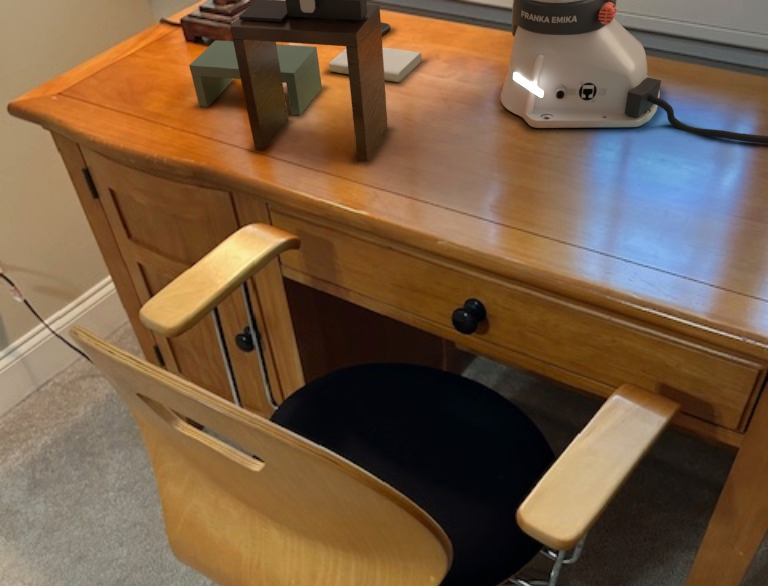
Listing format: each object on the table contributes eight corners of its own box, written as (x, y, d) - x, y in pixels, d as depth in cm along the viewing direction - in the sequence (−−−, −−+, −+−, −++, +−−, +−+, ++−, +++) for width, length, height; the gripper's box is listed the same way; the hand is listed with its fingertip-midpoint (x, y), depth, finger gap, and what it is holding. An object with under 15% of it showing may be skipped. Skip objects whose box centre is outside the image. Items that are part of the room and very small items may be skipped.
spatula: (372, 8, 99) (370, -12, 98) (357, 26, 96) (355, 6, 95) (257, 2, 103) (253, -17, 102) (239, 19, 100) (235, 0, 99)
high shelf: (388, 130, 113) (379, 4, 100) (367, 161, 108) (356, 34, 95) (279, 120, 117) (258, -2, 105) (254, 150, 112) (229, 26, 100)
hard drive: (398, 84, 122) (329, 72, 126) (422, 62, 126) (354, 51, 130) (398, 73, 121) (328, 61, 125) (421, 51, 125) (353, 41, 129)
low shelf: (322, 88, 123) (316, 46, 118) (300, 115, 118) (293, 73, 113) (224, 80, 127) (215, 40, 122) (199, 106, 122) (188, 65, 117)
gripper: (287, -106, 81) (307, 40, 92) (354, -160, 93) (365, -25, 104) (232, -106, 83) (258, 38, 94) (305, -159, 94) (320, -26, 105)
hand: (315, 4), depth 99 cm, fingers closed on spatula, 2 cm apart
